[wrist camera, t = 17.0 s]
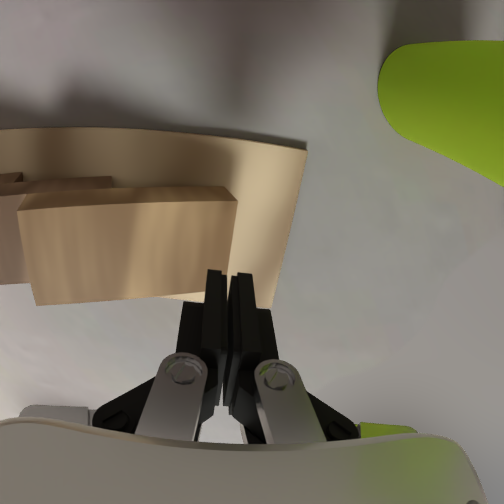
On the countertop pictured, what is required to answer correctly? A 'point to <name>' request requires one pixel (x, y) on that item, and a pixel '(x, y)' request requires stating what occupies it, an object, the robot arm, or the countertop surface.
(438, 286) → the countertop surface
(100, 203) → the domino
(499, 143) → the soap dispenser
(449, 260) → the countertop surface
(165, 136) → the runner
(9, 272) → the domino
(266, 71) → the countertop surface
